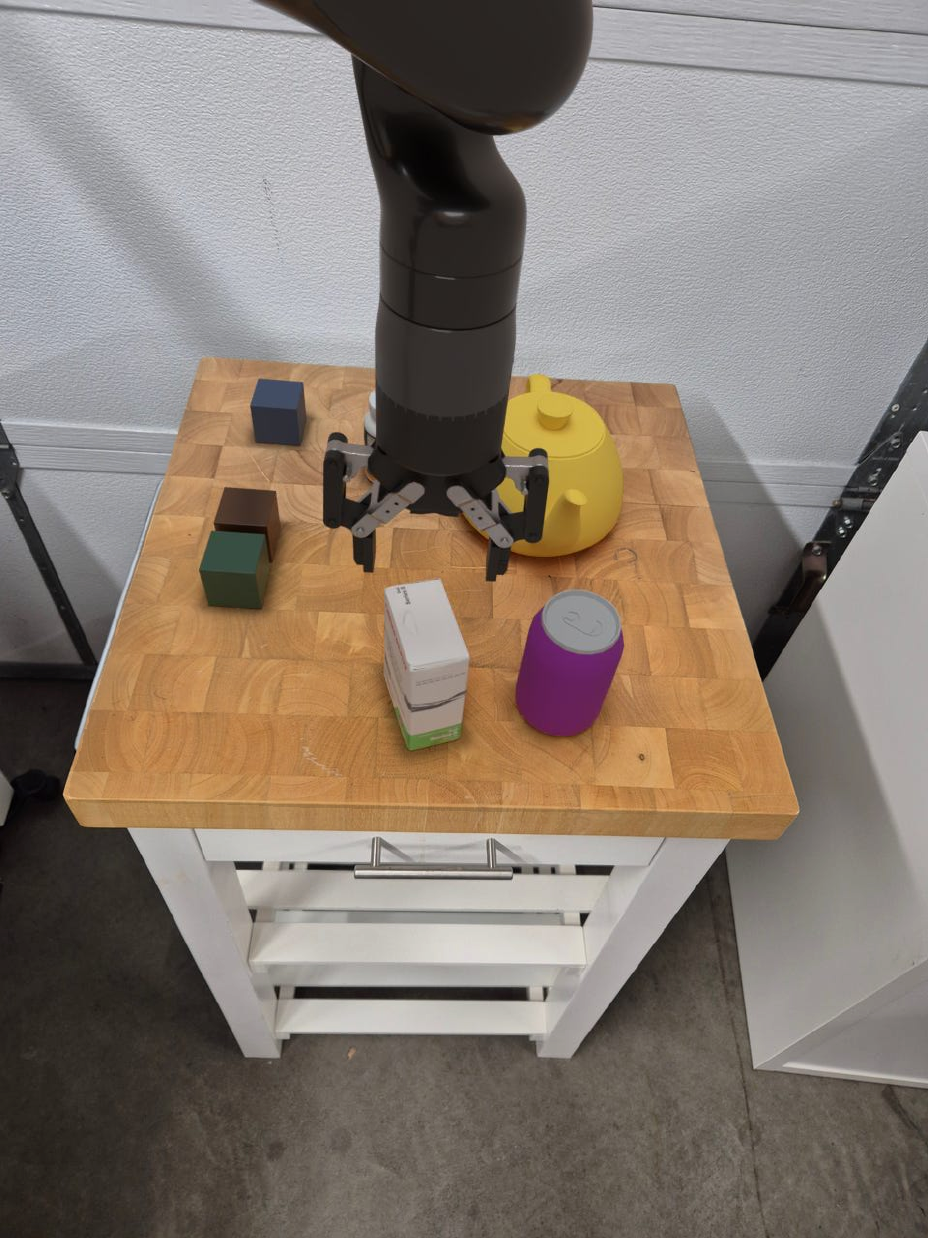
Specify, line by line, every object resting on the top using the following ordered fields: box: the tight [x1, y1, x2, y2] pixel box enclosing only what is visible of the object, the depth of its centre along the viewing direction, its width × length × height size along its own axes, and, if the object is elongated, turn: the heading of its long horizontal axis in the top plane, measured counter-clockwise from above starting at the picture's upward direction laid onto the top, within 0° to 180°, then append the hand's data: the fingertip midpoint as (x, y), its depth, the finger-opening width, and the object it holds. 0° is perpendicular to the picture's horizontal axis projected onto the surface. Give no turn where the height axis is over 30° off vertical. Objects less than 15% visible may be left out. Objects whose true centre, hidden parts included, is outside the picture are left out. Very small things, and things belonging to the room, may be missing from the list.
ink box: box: [383, 577, 471, 752], centre depth 67 cm, size 9×5×12 cm, turn 17°
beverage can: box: [515, 588, 625, 737], centre depth 68 cm, size 8×8×12 cm
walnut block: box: [213, 486, 282, 563], centre depth 80 cm, size 5×5×5 cm
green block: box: [198, 530, 271, 610], centre depth 76 cm, size 5×5×5 cm
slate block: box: [249, 378, 307, 447], centre depth 91 cm, size 5×5×5 cm
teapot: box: [462, 373, 625, 558], centre depth 82 cm, size 25×18×14 cm
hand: (430, 568), depth 57 cm, fingers open, 8 cm apart
